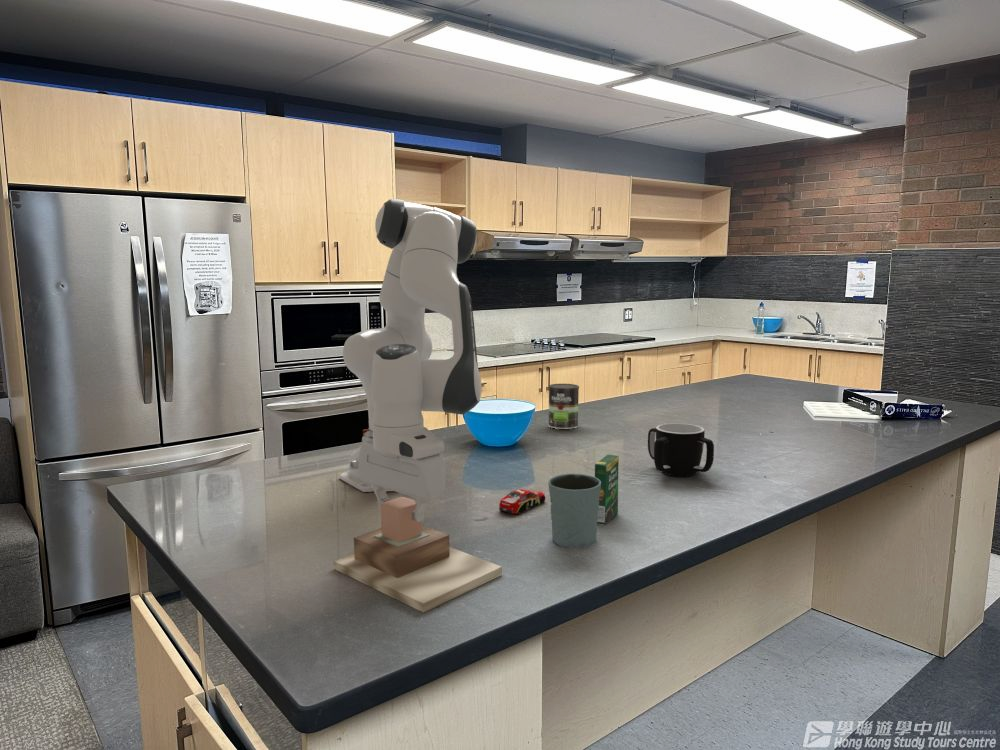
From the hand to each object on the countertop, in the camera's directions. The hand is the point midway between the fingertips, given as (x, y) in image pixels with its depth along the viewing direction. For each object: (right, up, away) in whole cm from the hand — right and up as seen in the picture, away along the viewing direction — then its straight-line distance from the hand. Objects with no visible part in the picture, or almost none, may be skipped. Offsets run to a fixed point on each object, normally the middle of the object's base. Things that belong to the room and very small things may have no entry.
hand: (400, 514), depth 122 cm
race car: (+23, -5, +32) cm, 40 cm away
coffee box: (+40, -6, +24) cm, 47 cm away
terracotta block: (0, -4, +1) cm, 4 cm away
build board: (+3, -10, -1) cm, 10 cm away
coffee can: (+39, +7, +112) cm, 119 cm away
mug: (+64, -1, +57) cm, 86 cm away
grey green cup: (+32, -8, +12) cm, 35 cm away
